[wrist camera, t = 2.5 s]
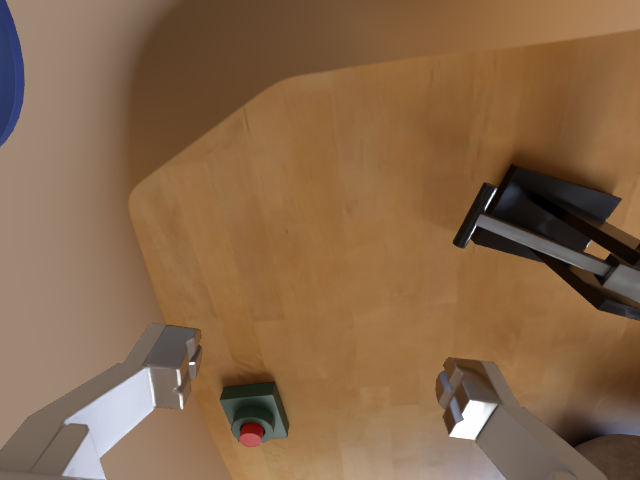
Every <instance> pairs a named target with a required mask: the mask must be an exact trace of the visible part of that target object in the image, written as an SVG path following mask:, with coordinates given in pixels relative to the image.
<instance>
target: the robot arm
mask: <svg viewBox="0 0 640 480" xmlns="http://www.w3.org/2000/svg"><path fill="white" fill-rule="evenodd" d="M201 338H202V337H201V330H200V329H196V328H189V327H182V326H175V325H166V324H159V323H151V324H150V325H149V326H148V327H147V328H146V330H145V331H144V333H143V334H142V336H141V337H140V339H139V340H138V342H137V343H136V345H135V346H134V348H133V349H132V351H131V352H130V354H129V356H128V357H127V358H126V360H125V361H124V363H123V364H120V363H118V364H116V365H114V366H113V367H111V368H109V369H108V370H106V371H104V372H103V373H101V374H99V375H98V376H96V377H94V378H93V379H91V380H89V381H87V382H86V383H84V384H82V385H81V386H79V387H77V388H76V389H74V390H72V391H71V392H69V393H67V394H66V395H64V396H62V397H61V398H59V399H57V400H56V401H54V402H52V403H51V404H49V405H47V406H46V407H44V408H42V409H41V410H39V411H37V412H36V413H34V414H32V415H30V416H29V417H28V418H27V419H26V420H25V422H23V424H22V425H21V426H20V427H19V429H18V430H17V431H16V432H15V434H14V435H13V436H12V437H11V438H10V439H9V441H8V442H7V443H6V444H5V445H4V447H3V448H2V449H1V450H0V480H106V478H105V475H104V472H103V469H102V466H101V463H100V460H99V458H100V457H101V456H102V455H103V454H105V452H107V451H108V450H109V449H110V448H111V447H112V446H113V445H115V444H116V443H117V442H118V441H119V440H120V439H121V438H122V437H124V436H125V435H126V434H127V433H128V432H129V431H130V430H131V429H132V428H134V427H135V426H136V425H137V424H138V423H139V422H140V421H141V420H142V419H144V418H145V417H146V416H147V415H148V414H149V413H150V412H151V411H153V410H154V407H156V408H170V409H183V408H184V405H185V403H186V401H187V398H188V396H189V393H190V391H191V382H190V381H192V380H193V379H194V378H196V376H197V373H198V371H199V368H200V364H201V359H202V347H201V346H200V345H199V342H200V340H201ZM443 366H444V369H445V370H444V371H443V372H441V373H440V374H439V375H438V377H437V380H436V387H435V390H436V397H437V400H438V403H439V404H440V405H441V406H442V407H443V408H444V409H445V412H444V414H443V419H444V422H445V425H446V428H447V431H448V434H449V437H457V438H465V439H472V440H476V441H475V442H476V443H477V444H478V445H479V447H480V448H481V449H482V450H483V451H484V453H485V454H486V455H487V456H488V458H489V459H490V460H491V461H492V462H493V464H494V465H495V466H496V467H497V469H498V470H499V471H500V472H501V473H502V475H503V476H504V477H505V478H506V479H507V480H608V479H607V477H606V476H605V474H604V473H603V472H601V471H600V470H599V469H598V468H597V467H595V466H594V465H593V464H592V463H591V462H589V461H588V460H587V459H586V458H585V457H583V456H582V455H581V454H580V453H579V452H578V451H576V450H575V449H574V448H573V447H572V446H570V445H569V444H568V443H567V442H566V441H564V440H563V439H562V438H561V437H560V436H558V435H557V434H556V433H555V432H554V431H552V430H551V429H550V428H549V427H548V426H547V425H545V424H544V423H543V422H542V421H541V420H539V419H538V418H537V417H536V416H535V415H533V414H532V413H531V412H530V411H529V410H527V409H526V408H525V407H520V406H519V404H518V402H517V400H516V398H515V397H514V395H513V393H512V391H511V389H510V388H509V386H508V384H507V382H506V380H505V379H504V377H503V375H502V373H501V372H500V370H499V368H498V366H497V365H496V364H495V363H494V362H489V361H479V360H478V361H477V360H470V359H461V358H451V357H449V358H447V359H446V360H445V362H444V364H443Z"/></svg>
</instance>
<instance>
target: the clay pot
mask: <svg viewBox="0 0 640 480" xmlns="http://www.w3.org/2000/svg"><path fill="white" fill-rule="evenodd" d="M574 449H575V450H576V451H578V452H579V453H580V454H581V455H582V456H583V457H585V458H586V459H587V460H588V461H589V462H591V463H592V464H593V465H594V466H595V467H597V468H598V469H599V470H600V471H601V472H603V473H604V474H605V476H606V477H607V479H608V480H640V436H634V435H624V434H611V435H605V436H600V437H597V438H595V439H592V440H589V441H586V442H584V443H582V444H579V445H578V446H576V447H575V448H574Z"/></svg>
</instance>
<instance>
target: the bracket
mask: <svg viewBox="0 0 640 480" xmlns="http://www.w3.org/2000/svg"><path fill="white" fill-rule="evenodd" d="M621 200H622V199H621V198H619V197H616V196H614V195H611V194H608V193H605V192H602V191H598V190H595V189H592V188H589V187H585V186H582V185H579V184H576V183H572V182H569V181H566V180H563V179H559V178H556V177H553V176H550V175H546V174H543V173H540V172H537V171H533V170H530V169H527V168H524V167H520V166H517V165H514V164H511V166H510V168H509V170H508V172H507V173H506V175H505V177H504V179H503V181H502V183H501V184H500V186H499V188H498V190H497V192H496V193H495V195H494V197H493V199H492V201H491V202H490V204H489V206H488V208H487V210H486V212H485V213H486V214H489V215H492V216H494V217H497V218H499V219H502V220H504V221H507V222H509V223H512V224H514V225H517V226H519V227H522V228H524V229H527V230H529V231H532V232H534V233H537V234H540V235H542V236H545V237H547V238H550V239H552V240H555V241H557V242H560V243H562V244H565V245H567V246H570V247H572V248H575V249H577V250H580V251H582V252H583V251H584V250H585V248H586V247H587V246H588V244H589V243H590V242H591V240H593V241H594V242H596V243H597V244H599V245H600V246H602V247H604V248H605V249H607V250H608V251H610V252H611V253H613V254H615V255H616V256H618V257H619V258H621V259H622V260H624V261H626V262H627V263H629V264H630V265H632V266H633V267H636V268H640V240H639V239H637V238H635V237H633V236H631V235H629V234H627V233H626V232H624V231H622V230H620V229H618V228H616V227H615V226H613V225H611V224H609V223H607V222H605V221H606V220H607V219H608V217H609V216H610V215H611V213H612V212H613V211H614V209H615V208H616V207H617V205H618V204H619V202H620V201H621ZM471 240H472V241H473V242H474V243H475V244H477V245H481V246H485V247H488V248H492V249H496V250H499V251H503V252H506V253H510V254H514V255H517V256H521V257H525V258H528V259H532V260H536V261H539V262H543V263H545V264H546V265H548V266H549V267H550V268H551V269H552V270H553V271H554V272H556V273H557V274H558V275H559V276H560V277H561V278H562V279H563V280H565V281H566V282H567V283H568V284H569V285H570V286H571V287H573V288H574V289H575V290H576V291H577V292H578V293H579V294H581V295H582V296H583V297H584V298H585V299H586V300H587V301H588V302H590V303H591V304H592V305H593V306H594V307H595V308H596V309H598V310H601V311H605V312H608V313H612V314H616V315H620V316H624V317H627V318H631V319H635V320H639V321H640V302H637V301H635V300H632V299H630V298H628V297H625V296H623V295H620V294H618V293H616V292H613V291H611V290H608V289H606V288H604V287H602V286H601V285H600V283H599V282H598V280H597V279H596V278H595V276H594V273H592V272H589V271H587V270H584V269H582V268H580V267H577V266H575V265H572V264H570V263H567V262H565V261H562V260H560V259H558V258H555V257H553V256H550V255H548V254H545V253H543V252H541V251H538V250H536V249H533V248H531V247H528V246H526V245H523V244H521V243H519V242H516V241H514V240H511V239H509V238H506V237H504V236H501V235H499V234H497V233H494V232H492V231H489V230H487V229H484V228H482V227H479V226H477V228H476V230H475V231H474V233H473V235H472V237H471Z"/></svg>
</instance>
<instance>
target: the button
mask: <svg viewBox="0 0 640 480" xmlns="http://www.w3.org/2000/svg"><path fill="white" fill-rule="evenodd" d="M263 431H264V429H263V427H262V426H261V425H260V424H257V423H253V422H251V423H245V424H243V426H242V429H241V433H240V437H239V441H240V443H241V444H243V445H244V446H247V447H256V446H258V445H260V444H261V442H262V437H263Z"/></svg>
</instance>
